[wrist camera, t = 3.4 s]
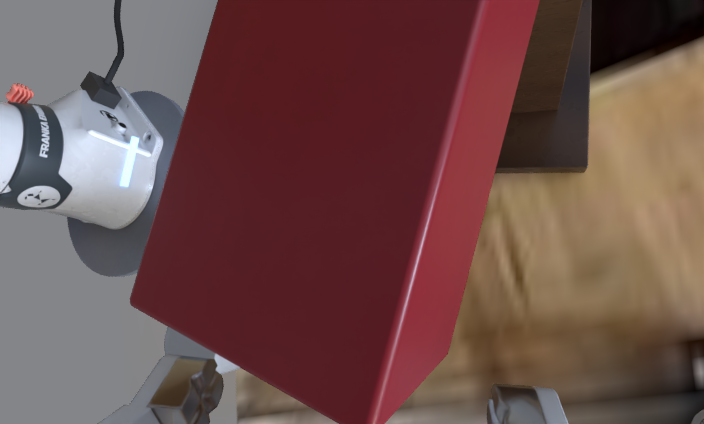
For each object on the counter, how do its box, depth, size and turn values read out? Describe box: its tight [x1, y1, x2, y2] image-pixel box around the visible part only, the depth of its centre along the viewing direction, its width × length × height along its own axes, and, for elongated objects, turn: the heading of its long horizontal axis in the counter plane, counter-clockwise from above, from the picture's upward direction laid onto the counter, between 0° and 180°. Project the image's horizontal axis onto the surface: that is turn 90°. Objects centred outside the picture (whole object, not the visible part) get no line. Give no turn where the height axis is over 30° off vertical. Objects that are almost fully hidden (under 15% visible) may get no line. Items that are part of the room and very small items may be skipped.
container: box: [164, 327, 240, 374], centre depth 29 cm, size 5×5×15 cm
